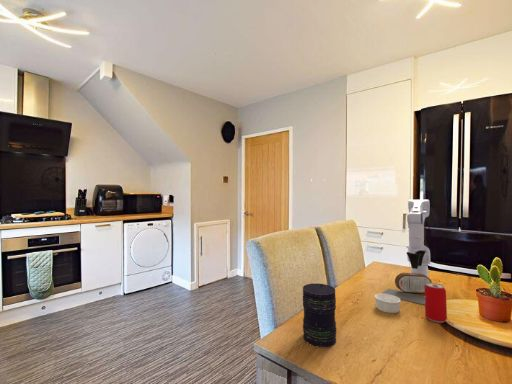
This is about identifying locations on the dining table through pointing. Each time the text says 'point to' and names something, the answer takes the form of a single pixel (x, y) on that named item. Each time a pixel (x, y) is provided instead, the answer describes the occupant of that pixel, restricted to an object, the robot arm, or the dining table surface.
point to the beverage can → (435, 302)
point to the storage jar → (319, 315)
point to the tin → (411, 282)
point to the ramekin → (387, 303)
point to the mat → (406, 296)
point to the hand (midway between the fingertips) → (416, 267)
